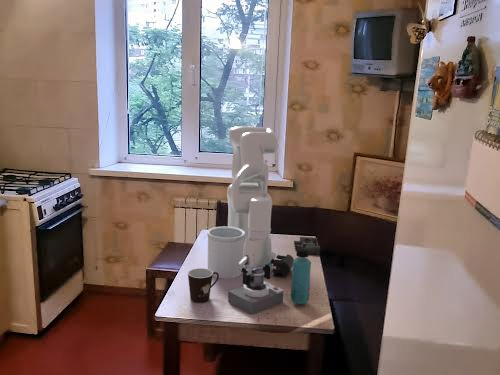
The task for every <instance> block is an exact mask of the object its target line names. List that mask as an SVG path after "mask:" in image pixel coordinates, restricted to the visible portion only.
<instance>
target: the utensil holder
mask: <svg viewBox="0 0 500 375" xmlns="http://www.w3.org/2000/svg"><path fill="white" fill-rule="evenodd" d="M206 232H207V269H209V270H211V271H212V272H217V273H218V274H219V278H218V279H234V278H238V277H240V276H241V275H242V274H243V273H242V272H241V271H240V270H239V267H238V263H239V262H240V261H241V260H242V258H243V246H244V237H245V232H244V231H243V230H242V229H239V228H235V227H228V226H225V225H223V226H214V227H211V228H208V229H207V231H206ZM212 277H214V278H217V274H213V276H212Z"/></svg>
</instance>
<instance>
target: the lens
mask: <svg viewBox="0 0 500 375" xmlns="http://www.w3.org/2000/svg"><path fill="white" fill-rule="evenodd" d="M264 273H265V271H264V269H263V267H262V266H260V267H257V268H253V269H252V270H251V272H250V274H249V275H251V281H250V286H249V287H248V288H249V289H251V290H262V289H263V287H264V281H265V278H264Z"/></svg>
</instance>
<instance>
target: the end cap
mask: <svg viewBox="0 0 500 375" xmlns="http://www.w3.org/2000/svg"><path fill="white" fill-rule="evenodd" d="M294 260H295V258H294V257H293V255H291V254H288V253H287V254H286V255H280V254H276V257H275V259H274V263H273V264H272V267H275V268H272V277H275V278H276V277H277V278H285V277H288V275H290V272H291V271H292V270H293V261H294Z"/></svg>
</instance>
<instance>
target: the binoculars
mask: <svg viewBox="0 0 500 375" xmlns="http://www.w3.org/2000/svg"><path fill="white" fill-rule="evenodd" d="M293 245H294V250H295V251H296V252H297V249H300V248H303V249H307V250H308V254H309V255H320V254H321V245H318V238H317V237H311V236H309V237H308V236H299V240H294V241H293Z"/></svg>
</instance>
